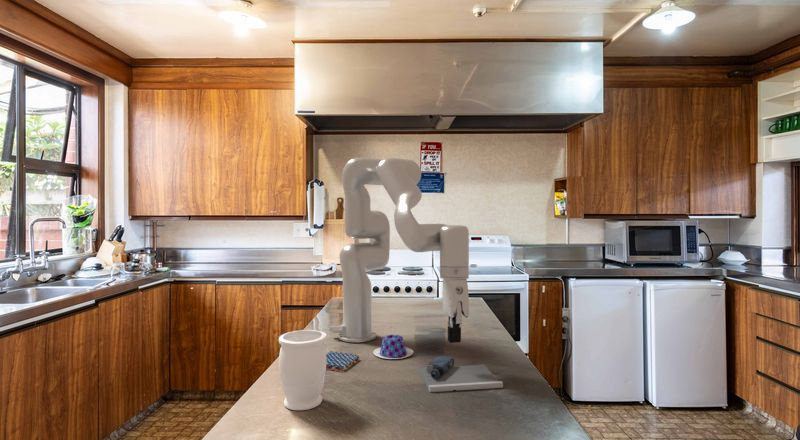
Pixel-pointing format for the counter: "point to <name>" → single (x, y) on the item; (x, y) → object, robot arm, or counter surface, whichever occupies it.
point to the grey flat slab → (461, 379)
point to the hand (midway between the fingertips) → (454, 341)
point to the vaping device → (440, 366)
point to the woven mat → (340, 361)
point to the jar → (302, 368)
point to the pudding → (393, 348)
